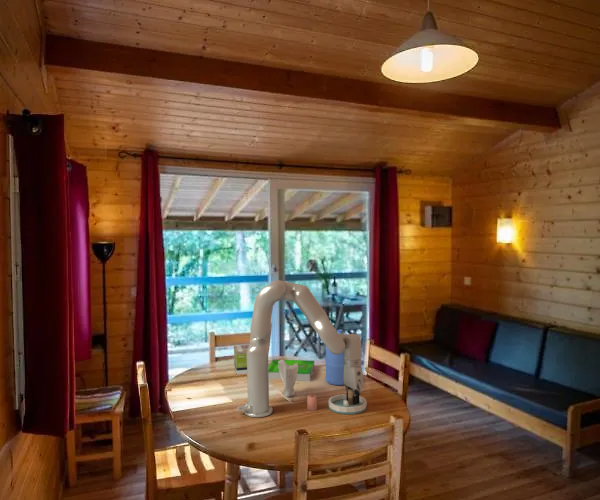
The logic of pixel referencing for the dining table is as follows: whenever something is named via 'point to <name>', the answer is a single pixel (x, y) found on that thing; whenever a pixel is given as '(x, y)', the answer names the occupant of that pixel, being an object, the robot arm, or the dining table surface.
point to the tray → (302, 375)
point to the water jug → (334, 366)
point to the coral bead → (312, 402)
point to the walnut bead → (350, 396)
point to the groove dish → (346, 405)
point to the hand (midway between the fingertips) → (352, 401)
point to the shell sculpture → (288, 377)
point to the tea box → (240, 358)
